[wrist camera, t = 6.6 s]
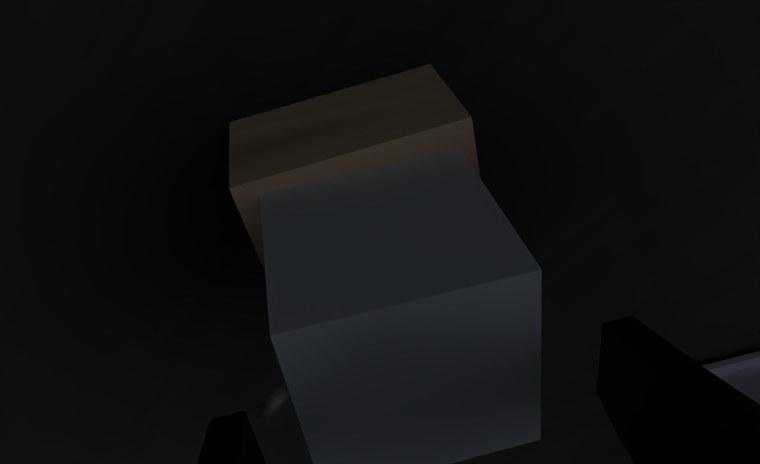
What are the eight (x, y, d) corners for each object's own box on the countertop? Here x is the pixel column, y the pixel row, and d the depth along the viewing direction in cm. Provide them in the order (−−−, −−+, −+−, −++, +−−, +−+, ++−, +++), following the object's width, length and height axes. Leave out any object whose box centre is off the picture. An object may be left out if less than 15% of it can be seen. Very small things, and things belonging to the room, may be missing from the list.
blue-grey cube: (471, 299, 18) (540, 439, 14) (303, 340, 18) (324, 496, 14) (459, 148, 15) (541, 270, 11) (259, 193, 15) (269, 335, 11)
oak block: (458, 225, 22) (498, 298, 19) (291, 275, 22) (302, 358, 18) (428, 61, 18) (471, 116, 15) (229, 120, 18) (229, 188, 15)
